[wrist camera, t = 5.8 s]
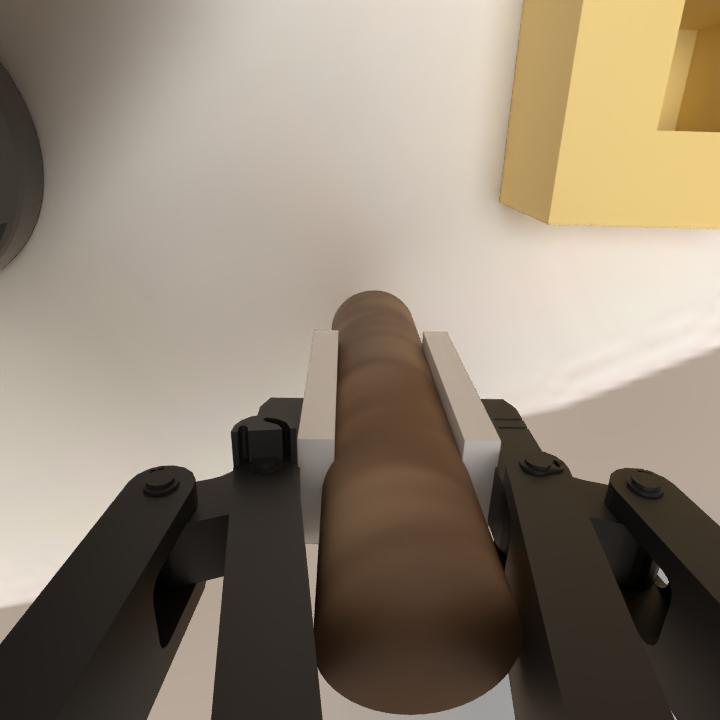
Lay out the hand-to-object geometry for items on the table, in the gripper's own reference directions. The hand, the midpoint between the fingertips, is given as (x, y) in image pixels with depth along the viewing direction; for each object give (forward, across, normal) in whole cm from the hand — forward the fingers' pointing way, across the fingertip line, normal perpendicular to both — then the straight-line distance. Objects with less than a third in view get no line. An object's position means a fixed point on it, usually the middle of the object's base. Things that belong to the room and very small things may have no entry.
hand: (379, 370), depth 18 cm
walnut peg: (+4, 0, 0) cm, 4 cm away
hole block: (+15, +13, +10) cm, 22 cm away
